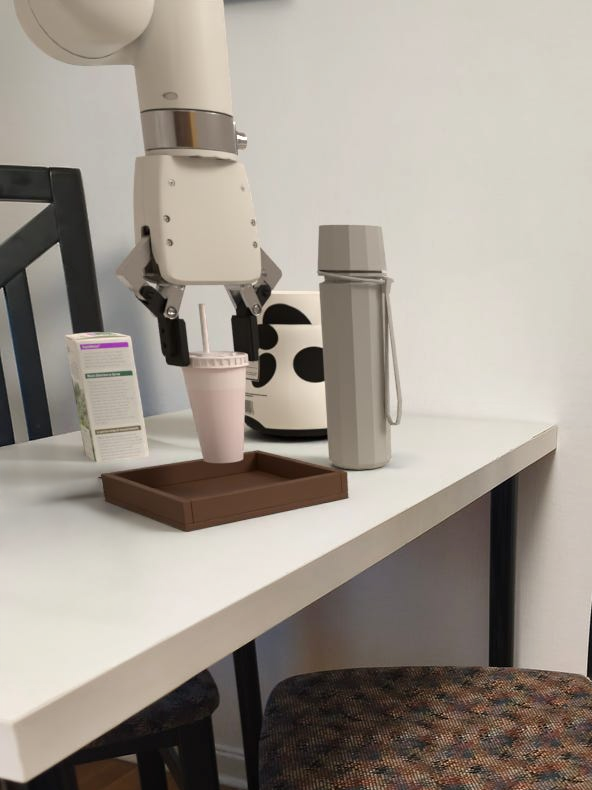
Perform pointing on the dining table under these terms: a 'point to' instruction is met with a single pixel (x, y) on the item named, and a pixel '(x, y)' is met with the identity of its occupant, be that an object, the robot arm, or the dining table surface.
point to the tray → (223, 489)
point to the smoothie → (217, 399)
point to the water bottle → (356, 345)
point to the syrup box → (107, 395)
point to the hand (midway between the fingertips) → (213, 361)
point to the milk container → (288, 368)
